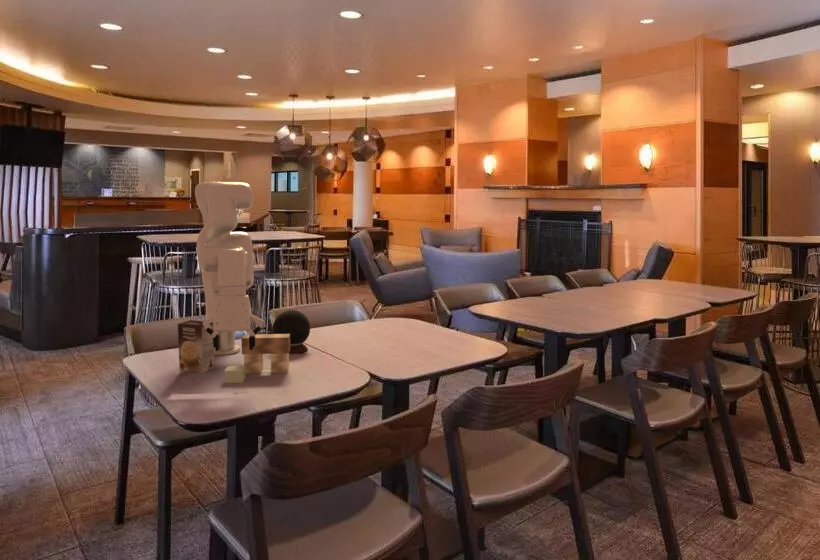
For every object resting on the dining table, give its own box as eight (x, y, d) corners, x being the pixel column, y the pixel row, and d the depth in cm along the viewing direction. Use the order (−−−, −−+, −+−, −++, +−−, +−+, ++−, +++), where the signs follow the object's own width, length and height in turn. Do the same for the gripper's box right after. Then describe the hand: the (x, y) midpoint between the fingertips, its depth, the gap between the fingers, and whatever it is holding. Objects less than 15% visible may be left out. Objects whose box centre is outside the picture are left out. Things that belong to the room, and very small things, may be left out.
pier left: (244, 373, 185) (243, 354, 184) (247, 369, 190) (246, 350, 189) (261, 373, 185) (260, 354, 185) (263, 368, 190) (262, 350, 190)
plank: (241, 354, 184) (241, 338, 184) (244, 350, 189) (244, 334, 189) (288, 353, 186) (288, 337, 185) (290, 349, 190) (290, 333, 190)
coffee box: (178, 374, 188) (176, 323, 186) (192, 368, 194) (189, 319, 192) (203, 377, 185) (200, 325, 183) (216, 371, 191) (214, 321, 189)
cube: (225, 387, 176) (224, 370, 175) (228, 382, 181) (228, 365, 180) (242, 387, 176) (242, 370, 176) (245, 381, 181) (245, 365, 181)
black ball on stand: (273, 357, 209) (272, 314, 207) (272, 348, 222) (271, 307, 220) (312, 354, 213) (311, 312, 211) (309, 346, 225) (308, 306, 223)
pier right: (271, 372, 186) (270, 353, 185) (273, 368, 191) (272, 349, 190) (287, 372, 186) (287, 353, 185) (289, 368, 191) (288, 349, 190)
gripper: (198, 293, 170) (201, 353, 172) (261, 292, 172) (263, 351, 174) (204, 290, 178) (207, 347, 179) (264, 289, 179) (266, 346, 181)
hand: (234, 349), depth 177 cm, fingers open, 9 cm apart
